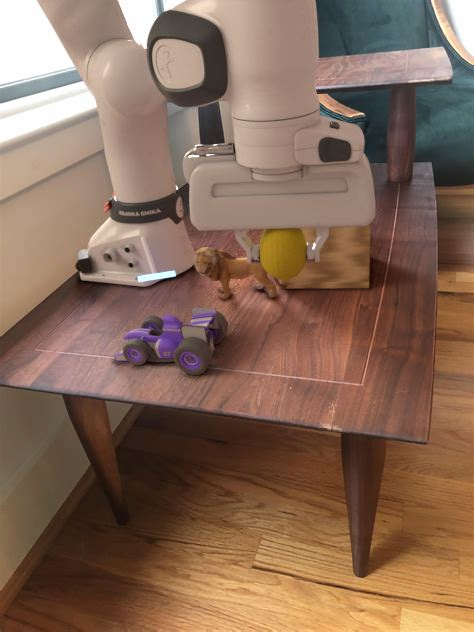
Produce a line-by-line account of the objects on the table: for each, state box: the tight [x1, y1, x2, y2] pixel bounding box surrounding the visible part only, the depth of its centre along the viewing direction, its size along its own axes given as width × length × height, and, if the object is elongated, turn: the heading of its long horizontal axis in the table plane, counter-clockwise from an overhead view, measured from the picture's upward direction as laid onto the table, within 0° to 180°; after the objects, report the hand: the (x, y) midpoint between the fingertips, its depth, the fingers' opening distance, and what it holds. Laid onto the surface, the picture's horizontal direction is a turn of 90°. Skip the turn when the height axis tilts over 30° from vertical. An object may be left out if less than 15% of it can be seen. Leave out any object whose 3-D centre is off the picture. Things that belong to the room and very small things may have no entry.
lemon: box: [258, 228, 307, 283], centre depth 63 cm, size 6×6×8 cm
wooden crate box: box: [282, 175, 375, 290], centre depth 91 cm, size 15×13×15 cm
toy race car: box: [113, 306, 229, 376], centre depth 78 cm, size 10×15×6 cm, turn 73°
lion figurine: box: [194, 246, 288, 300], centre depth 89 cm, size 15×5×9 cm, turn 90°
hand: (284, 260), depth 63 cm, fingers closed on lemon, 5 cm apart
